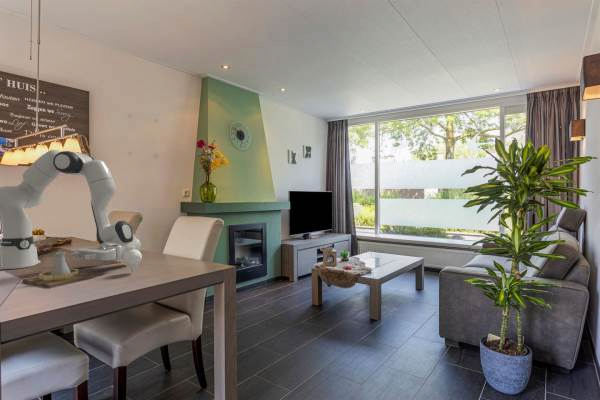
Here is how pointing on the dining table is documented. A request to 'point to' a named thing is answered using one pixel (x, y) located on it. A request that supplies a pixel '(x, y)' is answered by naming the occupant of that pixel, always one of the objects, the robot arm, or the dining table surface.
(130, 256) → the spinning top
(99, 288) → the dining table surface
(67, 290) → the dining table surface
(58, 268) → the flask
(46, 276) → the wooden ring
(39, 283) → the walnut board
